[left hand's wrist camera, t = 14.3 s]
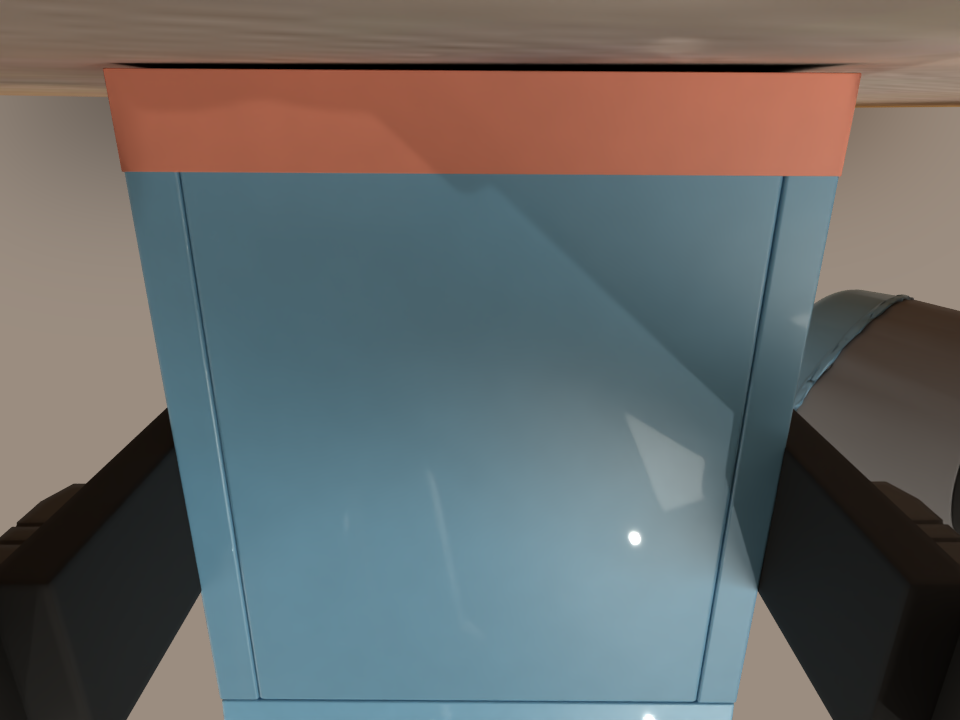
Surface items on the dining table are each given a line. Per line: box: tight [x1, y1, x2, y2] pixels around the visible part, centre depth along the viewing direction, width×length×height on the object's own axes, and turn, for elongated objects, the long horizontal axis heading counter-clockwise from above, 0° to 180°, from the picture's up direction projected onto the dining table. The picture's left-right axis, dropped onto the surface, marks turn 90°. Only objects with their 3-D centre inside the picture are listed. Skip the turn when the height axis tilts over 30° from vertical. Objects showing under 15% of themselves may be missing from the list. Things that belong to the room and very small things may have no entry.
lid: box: [222, 696, 734, 720], centre depth 21 cm, size 17×9×8 cm, turn 0°
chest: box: [103, 68, 861, 703], centre depth 17 cm, size 16×9×10 cm, turn 0°
